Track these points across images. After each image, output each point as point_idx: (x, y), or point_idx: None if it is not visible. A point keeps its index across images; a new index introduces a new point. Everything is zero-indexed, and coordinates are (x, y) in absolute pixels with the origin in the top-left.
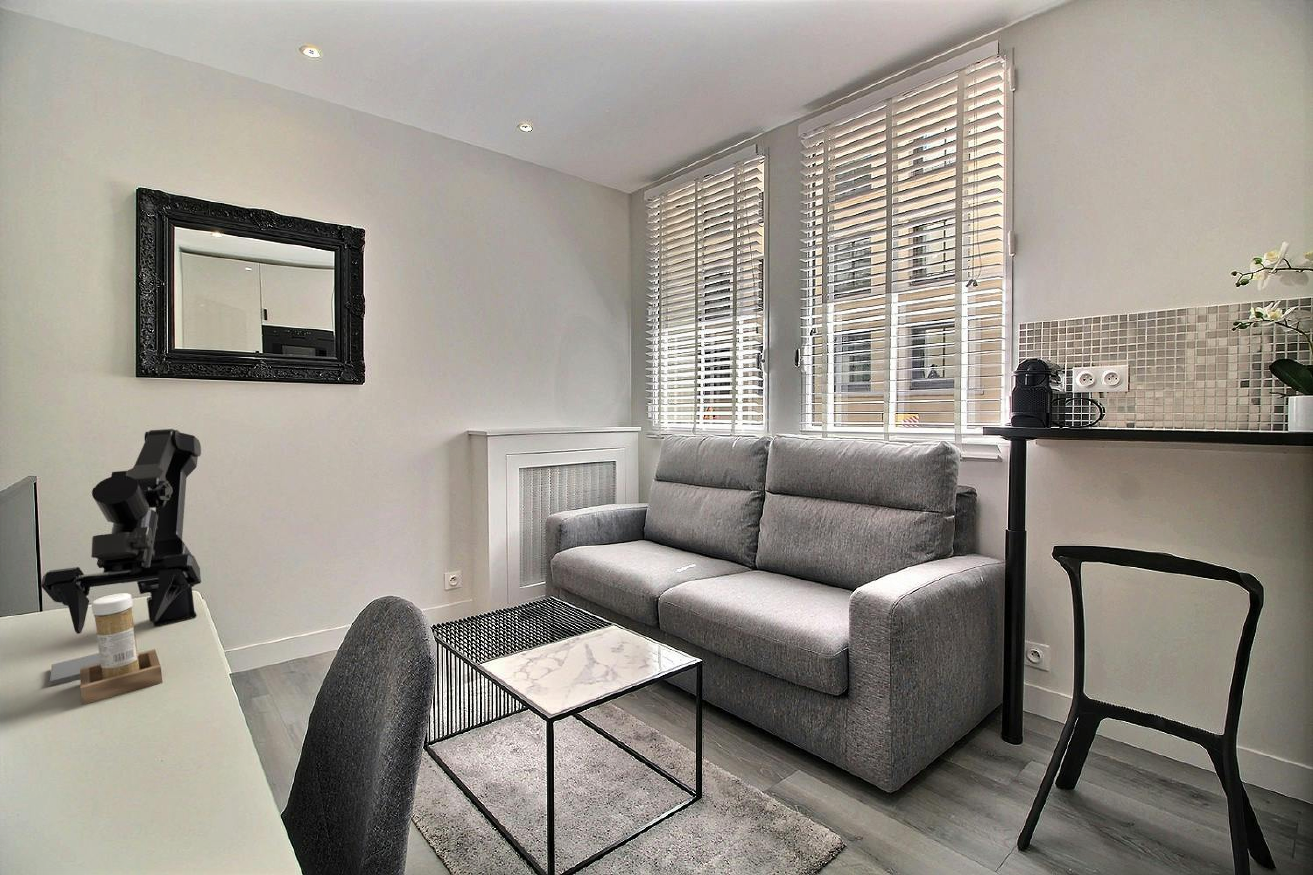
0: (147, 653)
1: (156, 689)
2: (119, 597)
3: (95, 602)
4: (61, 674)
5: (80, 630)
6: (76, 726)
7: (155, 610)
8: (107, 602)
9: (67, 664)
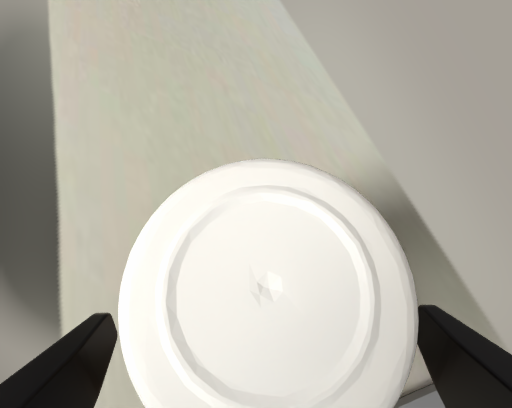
0: None
1: None
2: (195, 259)
3: (358, 204)
4: None
5: (418, 330)
6: (273, 124)
7: (66, 341)
8: (255, 160)
9: None
